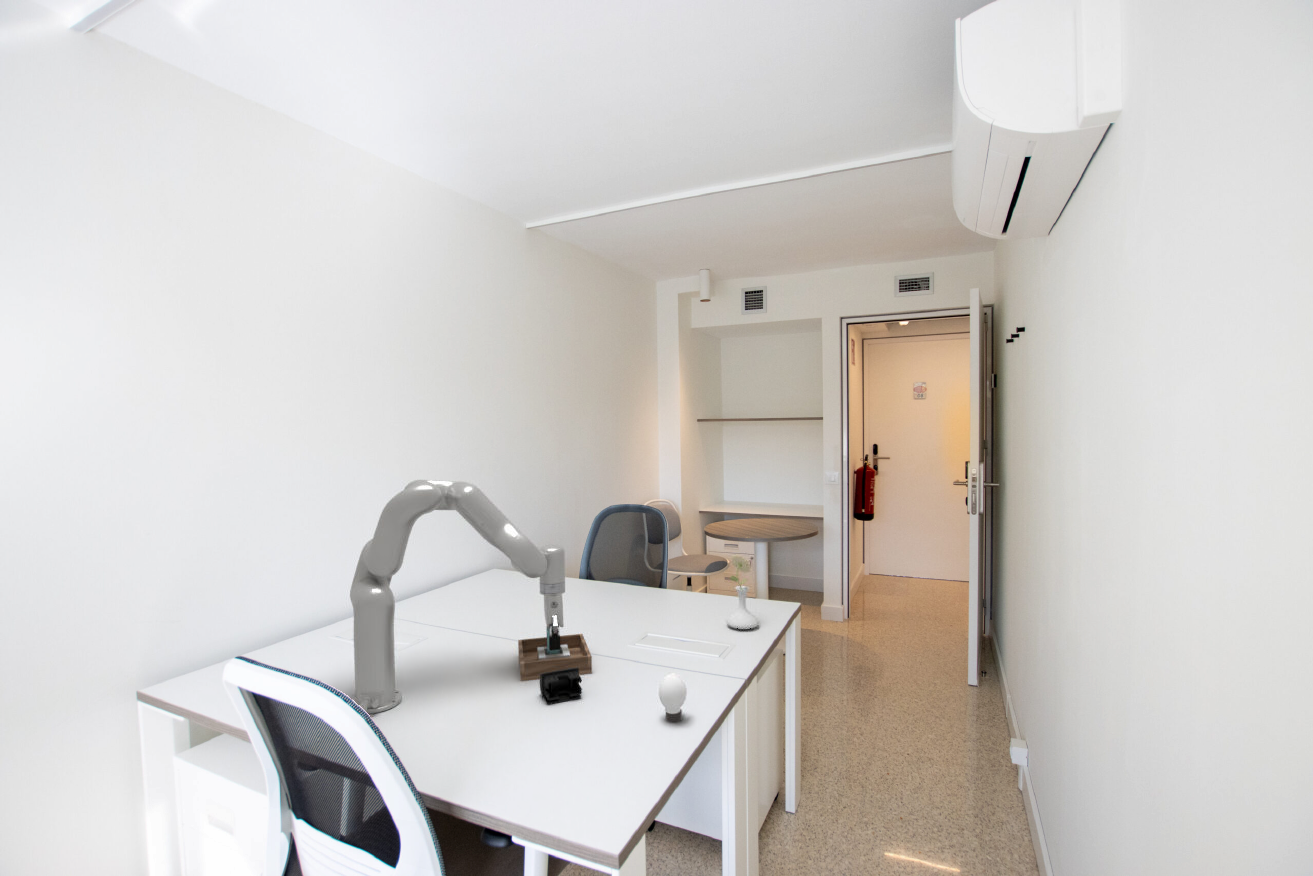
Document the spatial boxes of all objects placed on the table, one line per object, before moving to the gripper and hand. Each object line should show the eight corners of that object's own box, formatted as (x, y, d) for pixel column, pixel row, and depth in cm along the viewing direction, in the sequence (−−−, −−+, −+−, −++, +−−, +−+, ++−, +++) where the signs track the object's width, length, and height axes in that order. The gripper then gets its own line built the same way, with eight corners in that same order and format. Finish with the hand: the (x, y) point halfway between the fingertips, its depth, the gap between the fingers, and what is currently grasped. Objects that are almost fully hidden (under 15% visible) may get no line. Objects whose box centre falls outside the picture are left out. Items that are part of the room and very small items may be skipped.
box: (591, 673, 181) (591, 656, 180) (520, 681, 176) (520, 663, 176) (582, 649, 200) (582, 633, 200) (518, 655, 195) (518, 639, 195)
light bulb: (692, 718, 153) (691, 673, 152) (674, 728, 148) (674, 682, 147) (671, 710, 157) (670, 666, 157) (653, 719, 152) (652, 674, 152)
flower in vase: (765, 629, 217) (764, 557, 216) (736, 634, 213) (735, 560, 212) (746, 618, 229) (745, 550, 228) (718, 622, 225) (717, 553, 224)
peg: (560, 662, 186) (559, 628, 186) (548, 663, 186) (547, 630, 186) (559, 658, 190) (558, 625, 190) (547, 659, 189) (546, 626, 189)
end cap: (576, 688, 171) (575, 664, 171) (583, 699, 164) (583, 673, 164) (539, 695, 167) (539, 670, 167) (545, 706, 160) (545, 679, 160)
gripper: (568, 594, 180) (569, 653, 180) (562, 579, 197) (563, 633, 197) (541, 596, 178) (542, 655, 178) (537, 581, 195) (538, 635, 195)
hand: (553, 644), depth 188 cm, fingers open, 9 cm apart
